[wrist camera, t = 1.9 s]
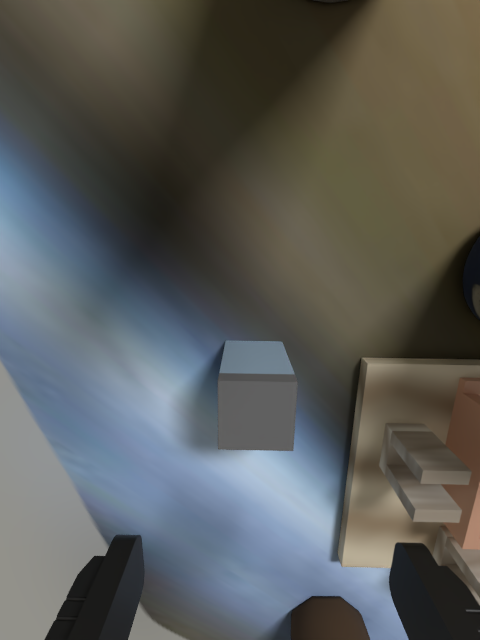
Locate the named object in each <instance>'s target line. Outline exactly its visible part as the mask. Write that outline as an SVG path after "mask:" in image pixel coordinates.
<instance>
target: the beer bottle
mask: <svg viewBox="0 0 480 640" xmlns="http://www.w3.org/2000/svg"><path fill="white" fill-rule="evenodd" d="M291 640H370V637H369V635H368V632H367V629H366V627H365V624H364V621H363V618H362V616H361V614H360V613H359V611H358V610H356V609H355V608H354V607H353V606H351V605H350V604H349V603H348V602H346V601H345V600H344V599H343V598H341V597H335V596H312V597H311V598H309V599H308V600H307V601H305V602H304V603H302V604H301V605H299V606H298V607H296V608H295V609H294V610H293V611H292V615H291Z"/></svg>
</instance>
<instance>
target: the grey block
mask: <svg viewBox="0 0 480 640" xmlns="http://www.w3.org/2000/svg"><path fill="white" fill-rule="evenodd" d="M297 385H298V382H297V379H296V376H295V374H294V371H293V369H292V366H291V364H290V361H289V358H288V356H287V353H286V351H285V348H284V345H283V343H282V342H277V341H226V342H225V347H224V352H223V357H222V362H221V367H220V372H219V377H218V449H227V450H277V451H293V446H294V431H295V415H296V400H297Z"/></svg>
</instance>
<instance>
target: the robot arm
mask: <svg viewBox="0 0 480 640" xmlns="http://www.w3.org/2000/svg"><path fill="white" fill-rule="evenodd" d="M313 1H320V2H327V3H333V2H340V1H347V0H313ZM143 583H144V560H143V549H142V538H141V536H140V535H116V536H115V537H114V539H113V540H112V542H111V545H110V547H109V549H108V551H107V553H106V556H94V557H93V558H92V559H91V560H90V562H89V563H88V564H87V565H86V566H85V567H84V568H83V569H82V571H81V572H80V573H79V574H78V575H77V578H76V579H75V581H74V583H73V586H72V587H71V589H70V591H69V594H68V595H67V599H66V601H64V603H63V605H62V607H61V609H60V611H59V613H58V615H57V618H56V620H55V621H54V623H53V625H52V626H51V628H50V630H49V632H48V634H47V636H46V638H45V640H128V637H129V634H130V631H131V627H132V624H133V620H134V617H135V614H136V610H137V607H138V604H139V600H140V597H141V593H142V588H143ZM389 585H390V591H391V596H392V599H393V602H394V605H395V608H396V610H397V612H398V615H399V617H400V619H401V622H402V624H403V627H404V629H405V631H406V634H407V636H408V638H409V640H480V605H479V603H478V602H477V600H476V599H475V597H474V596H473V594H472V593H471V591H470V590H469V588H468V587H467V585H466V584H465V583H464V582H463V581H462V580H461V579H460V578H459V577H458V576H457V575H456V574H455V573H454V572H453V571H452V570H451V569H450V568H449V567H448V566H438V564H437V562H436V561H435V559H434V558H433V556H432V554H431V553H430V551H429V549H428V548H427V547H426V546H425V545H424V544H423V543H406V542H397V543H396V544H395V548H394V553H393V559H392V565H391V571H390V576H389Z"/></svg>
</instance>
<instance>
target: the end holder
mask: <svg viewBox="0 0 480 640" xmlns="http://www.w3.org/2000/svg"><path fill="white" fill-rule="evenodd" d="M445 445H446V446H447V447H448V448H449V449H450V450H451V451H452V452H453V453H454V454H455V455H456V456H457V457H458V458H459V459H460V460H461V461H462V462H463V463H464V464H465V465H466V466H467V467H468V468H469V469H470V470H471V471H472V473H471V477H470V481H469V485H456V484H441V485H442V486H443V488H444V489H445V490H446V491H447V492H448V494H449V495H450V496H451V497H452V499H453V500H454V501H455V502H456V503H457V505H458V506H459V507H460V508H461V510H462V513H461V517H460V521H459V523H451V522H443V523H444V524H445V526H446V527H447V528H448V530H449V531H450V533H451V534H452V535H453V537H454V538H455V540H456V541H457V542H458V544H459V545H460V547H461V548H462V549H476V550H480V378H460V379H459V383H458V388H457V393H456V397H455V402H454V407H453V411H452V416H451V421H450V425H449V430H448V434H447V439H446V444H445Z"/></svg>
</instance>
